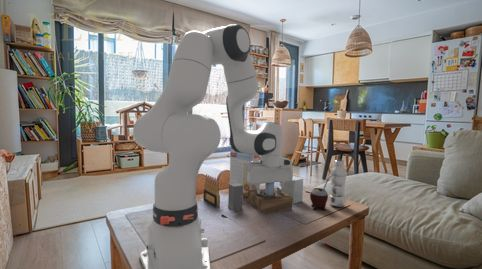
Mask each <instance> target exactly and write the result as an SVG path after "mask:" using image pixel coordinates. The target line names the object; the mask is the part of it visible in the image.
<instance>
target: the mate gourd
mask: <svg viewBox="0 0 482 269" xmlns="http://www.w3.org/2000/svg"><path fill="white" fill-rule="evenodd" d="M333 175H334V174H333ZM333 175H331V174H330V175H329V176H328V177H327V178H326V182H325V183H324V186H323V188H321V187H314V188H313V189H312V190H311V191H310V196H309V198H310V202H311V207H312V208H313V209H312V211H316V209H317V210H320V209H321V210H320V211H323V210H324V211H326V206H327V202H328V201H329V195H328V192H327V190H326V187H327V184H328V182H329V180H330V179H331V177H332V176H333Z"/></svg>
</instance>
